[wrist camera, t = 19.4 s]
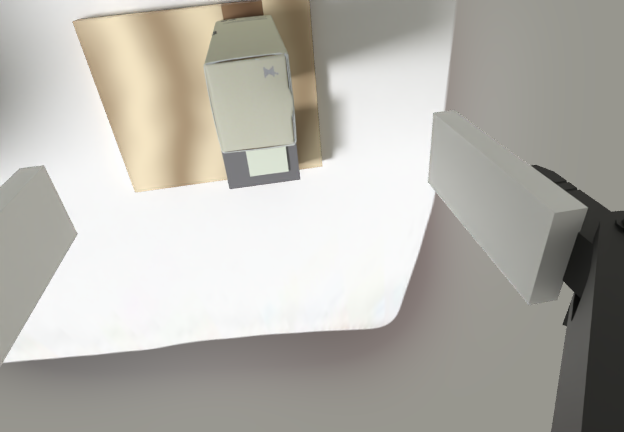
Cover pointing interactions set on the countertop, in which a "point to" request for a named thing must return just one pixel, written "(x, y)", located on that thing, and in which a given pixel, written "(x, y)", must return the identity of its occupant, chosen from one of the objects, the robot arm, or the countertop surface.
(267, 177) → the gray block
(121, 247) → the countertop surface
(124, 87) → the board
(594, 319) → the robot arm
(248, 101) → the box
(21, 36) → the countertop surface
